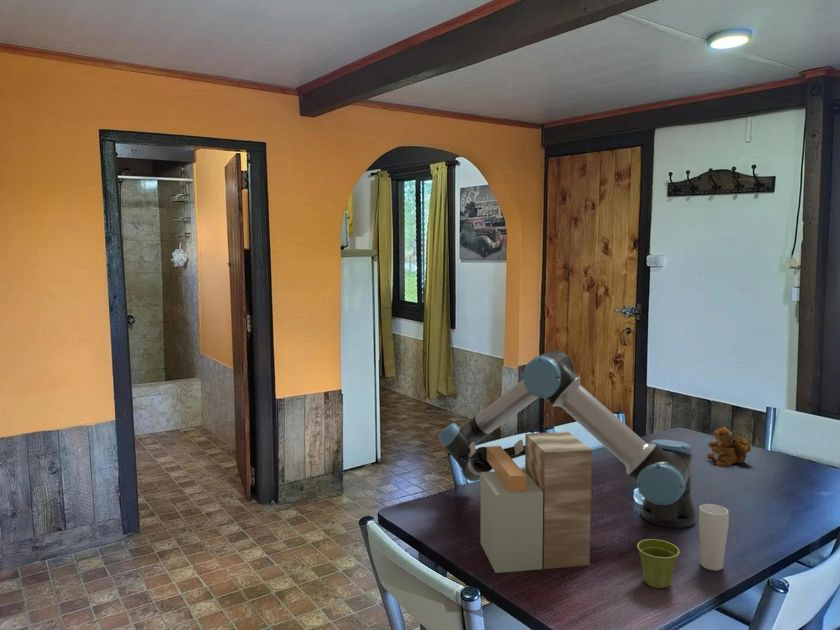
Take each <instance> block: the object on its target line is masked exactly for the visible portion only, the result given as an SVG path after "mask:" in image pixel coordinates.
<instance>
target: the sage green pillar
mask: <svg viewBox="0 0 840 630" xmlns="http://www.w3.org/2000/svg"><path fill="white" fill-rule="evenodd" d="M521 470H522V471H523V473H524V474H525V475H526V491H520V492H510V491H509V490H508V488H507V487H506V486H505V484H504V483H503V482H502V480H501V479H500V478H499V476H498V475H497V473H496V472H495V471H494V470H493V471H490V472H481V479H480V545H481V548H482V549H483V551H484V553H485V555H486V557H487V559H488V560H489V563H490V565H491V567H492V569H493V570H494V573H495V574H497V573H498V574H501V573H511V572H523V571H535V570H537V571H538V570H543V567H542V546H543V491H542V490H541V489H540V488H539V487H538V486H537V484H536V483H535V482H534V481H533V480H532V479H531V478H530V476H529V475H528V474H527V473H526V472H525V469H521Z"/></svg>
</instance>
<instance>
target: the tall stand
mask: <svg viewBox="0 0 840 630" xmlns="http://www.w3.org/2000/svg"><path fill="white" fill-rule="evenodd" d="M524 444H525V445H524V446H525V455H524V456H525V457H524V459H525V460H524V462H525V463H524V466H525V467H524V471H525V472H526V473H527V474H528V475H529V476H530V478H531V479H532V480H533V481H534V482H535V483H536V484H537V486H538V487H539V488H540V489H541V490H542V491H543V546H542V570H548V569H561V568H563V569H564V568H573V567H586V566H588V567H589V566H590V563H591V562H590V557H591V554H590V553H591V513H592V512H591V511H592V510H591V509H592V504H591V503H592V466H593V465H592V461H593V457H592V456H593V452H592V451H593V450H592V448H590V447H589V446H587V445H586V444H585V443H584V442H582V441H581V440H579V439H578V438H577V437H576V436H575V435H573V434H572V433H570V432H569V431H560V432H559V431H557V432H554V431H553V432H552V431H551V432H535V433H525V443H524Z"/></svg>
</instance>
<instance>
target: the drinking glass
mask: <svg viewBox="0 0 840 630" xmlns="http://www.w3.org/2000/svg"><path fill="white" fill-rule="evenodd" d="M729 513H730V512H729V510H728V508H726V507H724V506H722V505H718V504H713V503H704V504H701V505H700V506H699V507H698V537H699V564H700V565H701V567H703V568H704V569H706V570H707V571H712V570H713V571H715V572H717V571H722V569H723V568H724V562H725V554H726V553H725V552H726V546H727V538H728V532H729V524H730V523H729V520H730V519H729V517H730V515H729Z"/></svg>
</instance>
